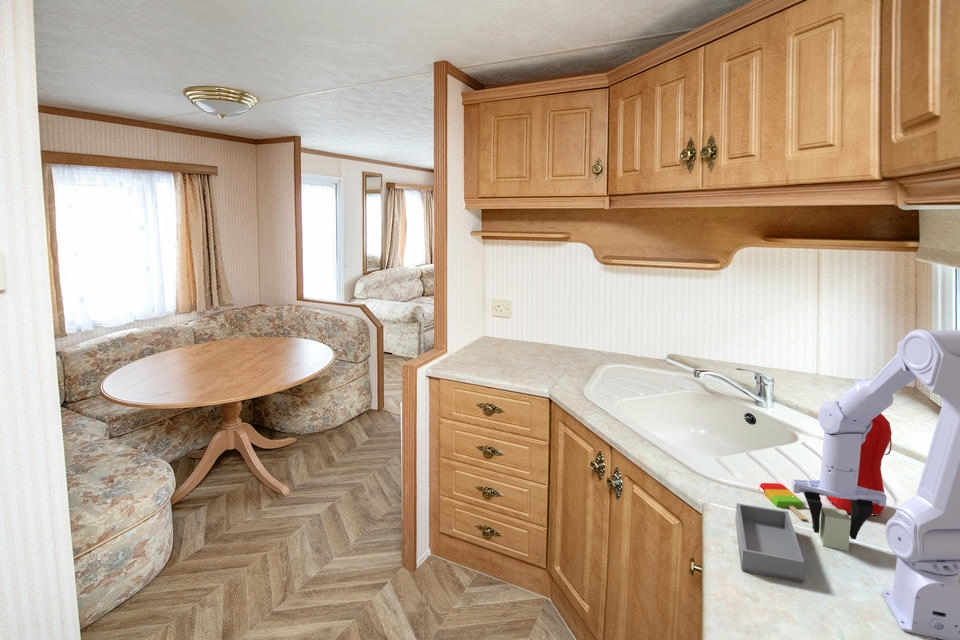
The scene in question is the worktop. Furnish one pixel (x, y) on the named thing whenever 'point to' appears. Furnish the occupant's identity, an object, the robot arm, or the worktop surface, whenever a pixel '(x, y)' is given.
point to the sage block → (834, 528)
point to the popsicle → (782, 497)
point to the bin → (768, 543)
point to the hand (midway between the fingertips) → (833, 533)
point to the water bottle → (870, 462)
